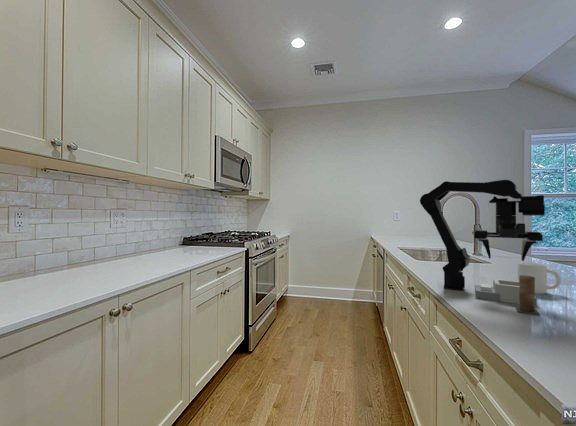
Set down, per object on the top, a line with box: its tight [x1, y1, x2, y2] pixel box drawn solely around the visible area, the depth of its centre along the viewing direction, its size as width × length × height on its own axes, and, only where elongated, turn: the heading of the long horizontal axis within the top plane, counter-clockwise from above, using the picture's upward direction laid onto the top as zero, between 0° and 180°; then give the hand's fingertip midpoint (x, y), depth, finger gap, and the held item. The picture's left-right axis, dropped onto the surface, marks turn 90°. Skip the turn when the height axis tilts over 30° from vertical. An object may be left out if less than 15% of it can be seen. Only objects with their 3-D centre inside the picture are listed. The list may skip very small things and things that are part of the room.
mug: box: [517, 261, 562, 295], centre depth 103 cm, size 12×8×10 cm
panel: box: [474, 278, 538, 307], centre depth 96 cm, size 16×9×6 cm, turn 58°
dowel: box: [518, 275, 536, 312], centre depth 83 cm, size 4×4×10 cm
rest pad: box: [514, 305, 541, 317], centre depth 83 cm, size 5×5×1 cm
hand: (505, 259), depth 98 cm, fingers open, 9 cm apart
